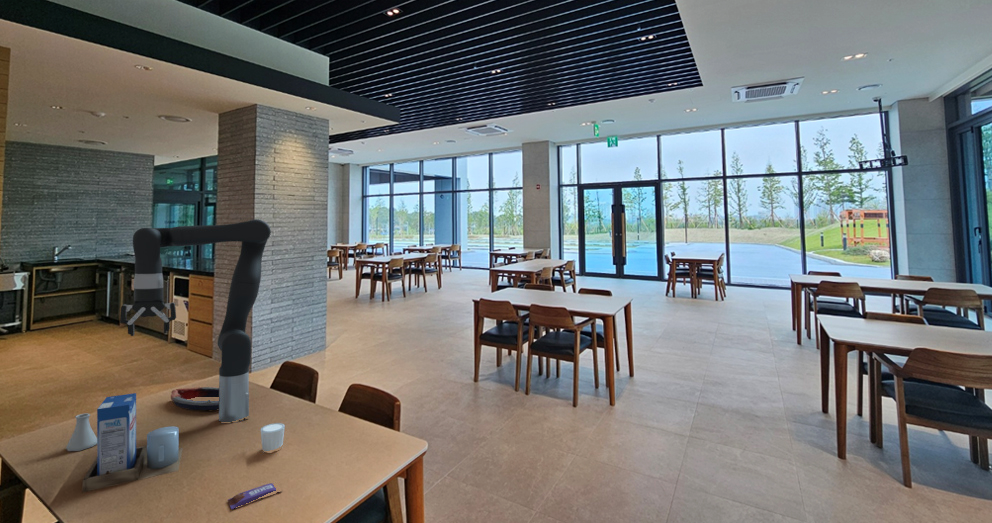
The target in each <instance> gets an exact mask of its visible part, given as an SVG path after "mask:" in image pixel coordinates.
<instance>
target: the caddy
mask: <svg viewBox="0 0 992 523" xmlns="http://www.w3.org/2000/svg"><path fill="white" fill-rule="evenodd" d="M183 450H184V447H179V456H178V461H177V462H175V463H174V464H172V465H170V466H167V467H164V468H159V469H149V468H147V445H142V446H136V462H135V465H134V467H133V468H132V469H127V470H123V471H118V472H113V473H109V474H104V475H100V476H97V456H96V458H95V459H94V461H93V462H92V465H91V466H90V467H89V469H88V471H87V472H86V474H85V476H84V477H83V478H82V493H88V492H92V491H95V490H101V489H105V488H109V487H112V486H117V485H118V486H119V485H123V484H126V483H131V482H134V481H135V482H136V481H140V480H143V479H149V478H152V477H156V476H162V475H166V474H169V473H176V472H179V467H180V463H181V460H182V455H183Z"/></svg>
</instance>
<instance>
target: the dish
mask: <svg viewBox="0 0 992 523" xmlns="http://www.w3.org/2000/svg"><path fill="white" fill-rule="evenodd" d="M195 397H219V387H213V386H211V387H210V386H208V387H207V386H202V387H200V386H198V387H185V388H176V389H173V390H171V395H170V400H171V401H172V402H173V404H174V405H175V406H177V407H179V408H182V409H185V410H190V411H198V410H203V411H204V410H205V411H204V412H207V411H206V410H214V411H218V410H217V409H219V401H210V400H208V401H193V400H187V399H191V398H195ZM203 411H202V412H203Z"/></svg>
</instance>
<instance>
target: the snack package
mask: <svg viewBox="0 0 992 523" xmlns="http://www.w3.org/2000/svg"><path fill="white" fill-rule="evenodd" d="M273 484H274V483H266V484H263V485H260V486H257V487H254V488H251V489H249V490H246V491H242V492H240V493H237V494H235V495H234V496H233V497H231V498H228V499H227V502H228V505H229V507H230V509H231V510H234V508H235V509H237V508H236V507H238V506H241V505H244V504H246V503H249V502H251V501H253V500H256V499H258V498H259V497H262V496H264V495H266V494H268V493H271V492H273V491H276V488H275V487H274V485H273ZM244 506H245V505H244ZM241 507H242V506H241Z"/></svg>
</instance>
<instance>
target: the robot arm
mask: <svg viewBox="0 0 992 523" xmlns="http://www.w3.org/2000/svg"><path fill="white" fill-rule="evenodd" d="M271 234H272V229H271V227H270V225H269V224H268V223H267V222H266V221H264V220H262V219H254V218H253V219H250V220H247V221H241V222H235V223H229V224H228V223H227V224H216V225H215V224H213V225H212V224H210V225H202V224H201V225H180V226H179V225H178V226H174V227H142V228H139V229H138V230H135V232H134V233H133V235H132V248H133V254H134V259H135V261H134V279H133V284H132V285H133V304H122V305H121V306H120V315H119V317H120V319H119V323H120V324H122V325H123V324H124V325H126V326H127V334H128V335H130V336H131V337H134V336H135V323H134V322H136V321H137V319H138V318H139V317H142V318H147V317H153V318H154V317H156V316H158V317H159V318H160V319H161V320H162V321H163V334H168V332H169V331H170V329H171V328H170V327H171V326H170V325H171V324H170V322H172V321H174V320H176V318H177V311H176V303H175V302H174V301H172V302H167V303H165V302H164V301H165V300H164V276H163V260H162V257H161V248H168V247H190V246H191V247H192V246H204V245H210V244H217V243H218V244H219V243H226V242H227V243H228V242H241V247H240V253H239V257H238V260H237V263H236V266H235V267H234V271H233V274H232V277H231V283H230V287H229V291H228V296H227V297H228V298H227V304H226V312H225V317H224V320H223V323H222V327H221V329H220V332H219V334H218V337H217V347H218V348H219V350H220V351H221V363H220V364H221V365H220V366H219V370H218V371H219V372H218V376H219V377H218V382H219V383H218V388H219V410H218V422H219V421H221V422H232V421H236V420H239V419H242V418H244V417H247V416H249V415H250V391H249V389H250V388H249V387H250V386H249V385H250V384H249V383H250V382H249V380H250V379H249V378H250V374H249V373H250V372H249V371H250V365H251V360H252V359H251V358H252V341H251V337H250V336H249V335H248V334H247V333H246V330H247V329H246V328H247V321H248V317H249V314H250V312H251V310H252V308H253V306H254V304H255V302H256V300H257V298H258V294H259V290H260V285H261V279H262V259H263V254H264V251H265V248H266V245H267V242H268V240H269V238H270V236H271ZM165 308H167V309H168V310H170V316H167V315H166V314H165V313H164V311H163V310H164V309H165ZM131 309H132V310H133V311H134V312H135V314H134V315H133V316H132V317H131V318H130V319H127V316H128V313H127V312H130V310H131ZM249 417H250V416H249Z"/></svg>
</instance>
